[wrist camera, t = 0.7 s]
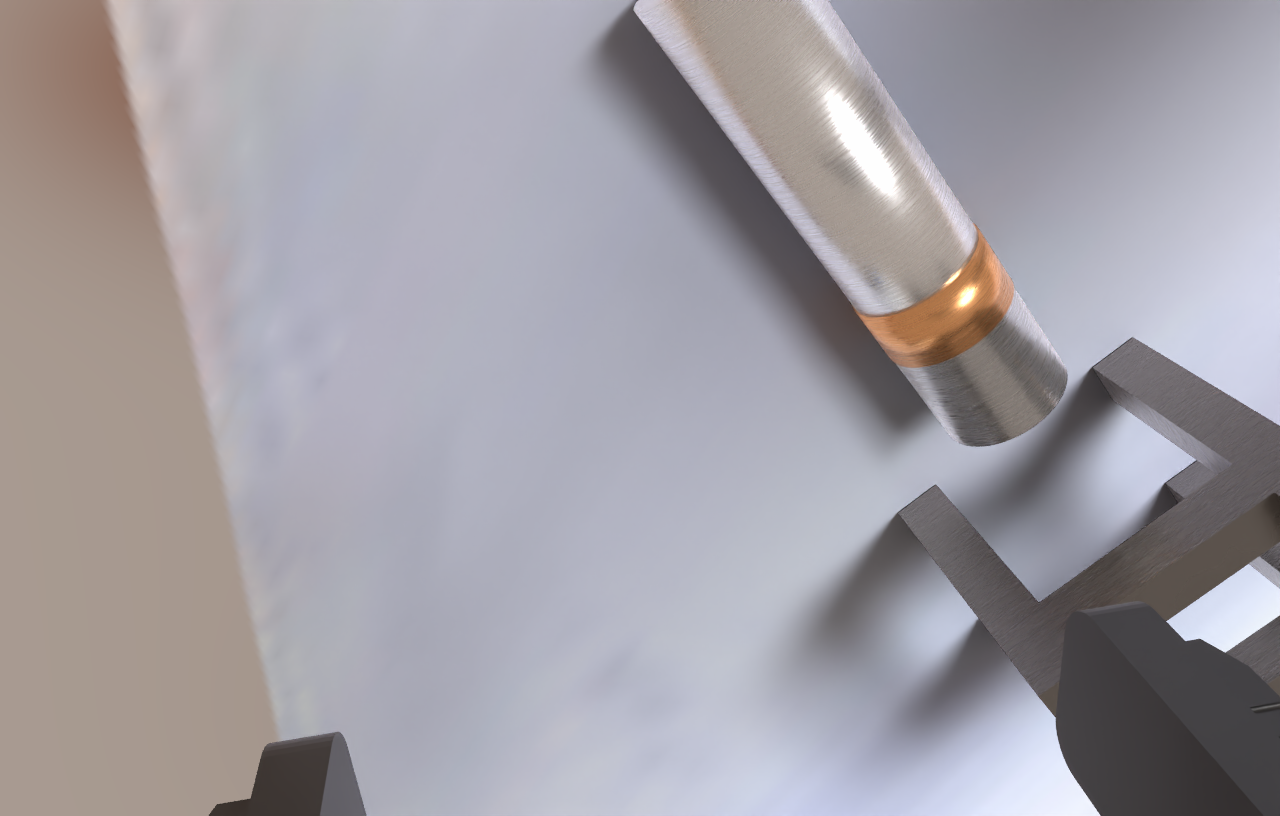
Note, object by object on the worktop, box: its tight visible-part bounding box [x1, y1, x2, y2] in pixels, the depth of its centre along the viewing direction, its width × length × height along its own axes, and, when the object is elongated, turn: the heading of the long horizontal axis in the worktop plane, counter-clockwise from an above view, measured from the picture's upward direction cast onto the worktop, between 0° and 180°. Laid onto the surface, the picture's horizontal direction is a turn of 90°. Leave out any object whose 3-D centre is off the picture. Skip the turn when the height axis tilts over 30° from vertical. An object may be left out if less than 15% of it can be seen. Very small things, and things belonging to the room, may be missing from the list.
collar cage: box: [898, 338, 1280, 717], centre depth 33 cm, size 10×8×10 cm
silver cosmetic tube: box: [634, 0, 1068, 447], centre depth 29 cm, size 16×4×4 cm, turn 39°
